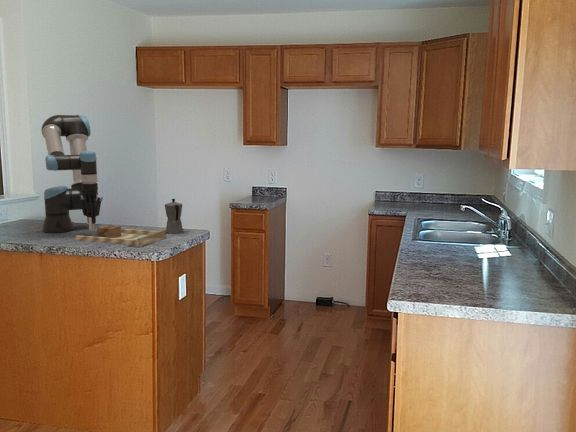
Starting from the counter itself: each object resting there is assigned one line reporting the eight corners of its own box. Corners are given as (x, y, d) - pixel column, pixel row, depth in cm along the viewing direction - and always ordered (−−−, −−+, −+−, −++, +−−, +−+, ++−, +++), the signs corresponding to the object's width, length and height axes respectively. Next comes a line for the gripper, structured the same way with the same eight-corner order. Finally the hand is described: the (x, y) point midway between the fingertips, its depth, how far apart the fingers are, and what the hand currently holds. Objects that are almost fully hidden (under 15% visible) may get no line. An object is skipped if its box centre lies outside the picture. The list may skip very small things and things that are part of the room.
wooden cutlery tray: (75, 242, 256) (74, 233, 256) (105, 233, 278) (104, 225, 278) (140, 247, 246) (140, 238, 245) (166, 237, 268) (166, 229, 267)
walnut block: (97, 237, 261) (97, 227, 261) (107, 234, 269) (107, 225, 268) (111, 238, 259) (111, 228, 258) (121, 235, 267) (120, 226, 266)
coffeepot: (162, 230, 285) (161, 197, 282) (180, 229, 289) (179, 196, 286) (169, 236, 271) (168, 201, 268) (187, 234, 275) (186, 200, 272)
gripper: (73, 183, 261) (76, 230, 265) (95, 184, 257) (98, 232, 261) (83, 181, 268) (86, 227, 272) (105, 182, 264) (107, 229, 268)
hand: (92, 229), depth 266 cm, fingers closed
